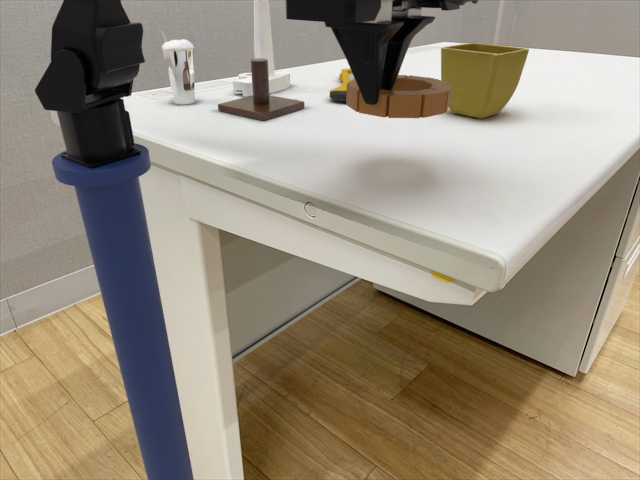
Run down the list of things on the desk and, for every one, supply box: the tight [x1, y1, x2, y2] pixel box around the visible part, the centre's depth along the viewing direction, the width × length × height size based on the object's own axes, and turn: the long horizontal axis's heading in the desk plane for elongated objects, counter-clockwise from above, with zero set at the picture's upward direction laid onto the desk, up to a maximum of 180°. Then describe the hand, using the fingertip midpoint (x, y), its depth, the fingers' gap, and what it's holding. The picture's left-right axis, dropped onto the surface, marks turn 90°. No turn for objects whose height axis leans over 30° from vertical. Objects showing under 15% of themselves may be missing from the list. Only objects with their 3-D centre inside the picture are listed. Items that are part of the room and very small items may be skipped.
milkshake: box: [160, 31, 196, 106], centre depth 75 cm, size 4×5×10 cm
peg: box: [217, 58, 305, 122], centre depth 72 cm, size 9×9×7 cm
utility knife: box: [329, 67, 355, 102], centre depth 86 cm, size 7×22×2 cm, turn 0°
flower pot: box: [440, 42, 530, 119], centre depth 70 cm, size 9×9×9 cm
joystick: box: [232, 0, 291, 98], centre depth 81 cm, size 11×8×20 cm
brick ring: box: [345, 74, 452, 119], centre depth 48 cm, size 10×10×2 cm
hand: (377, 101), depth 45 cm, fingers closed on brick ring, 2 cm apart
